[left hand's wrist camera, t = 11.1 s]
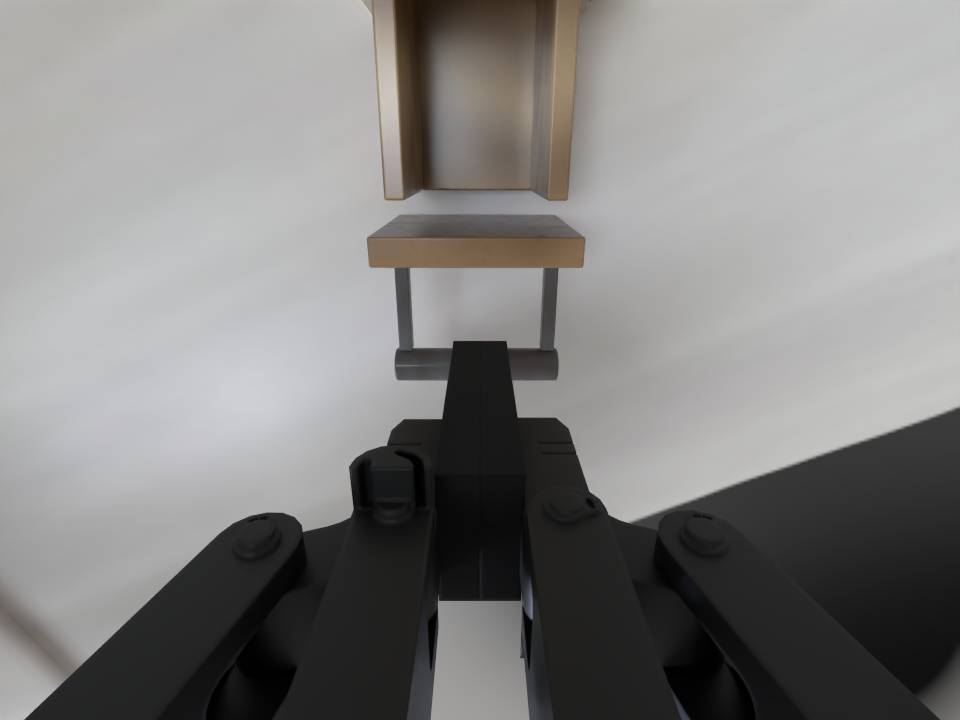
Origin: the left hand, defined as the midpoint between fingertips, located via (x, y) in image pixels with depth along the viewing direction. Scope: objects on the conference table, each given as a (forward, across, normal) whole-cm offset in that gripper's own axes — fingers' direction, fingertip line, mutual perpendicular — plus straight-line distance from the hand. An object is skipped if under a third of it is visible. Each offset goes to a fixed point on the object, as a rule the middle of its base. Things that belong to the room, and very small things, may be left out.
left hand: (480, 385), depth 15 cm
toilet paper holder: (+15, 0, -7) cm, 17 cm away
